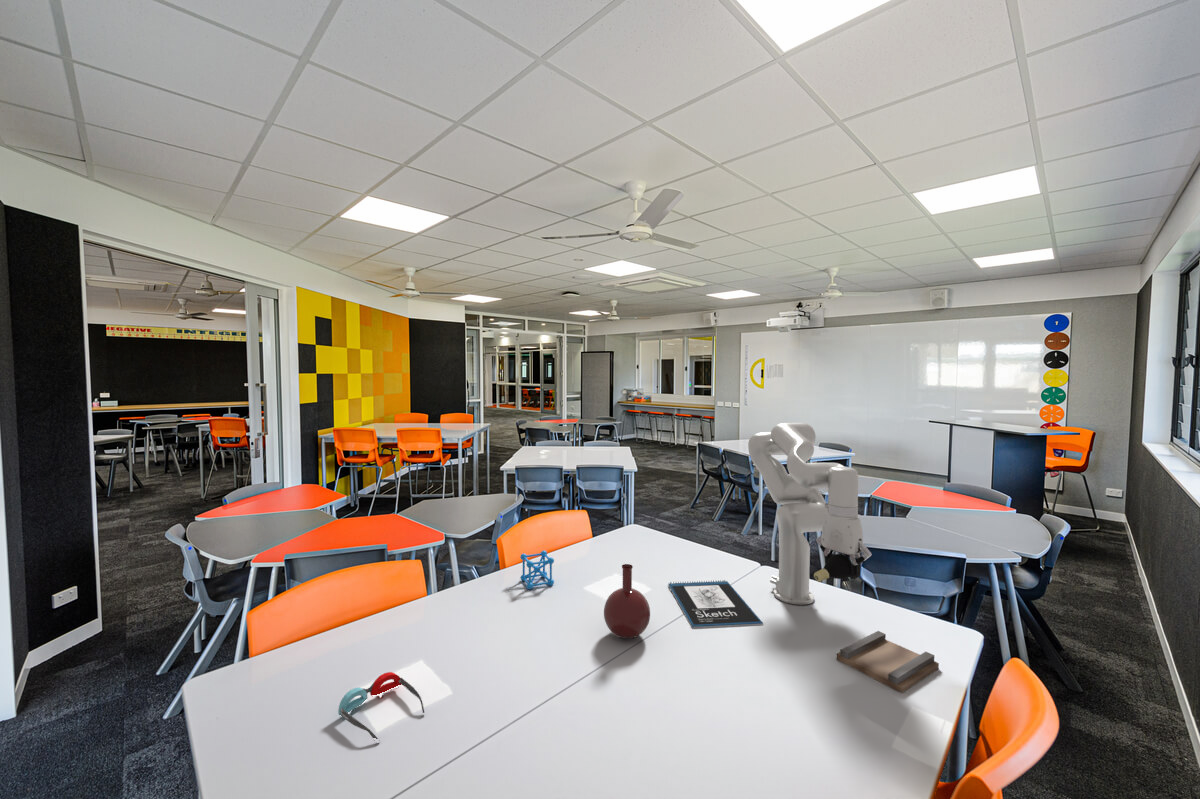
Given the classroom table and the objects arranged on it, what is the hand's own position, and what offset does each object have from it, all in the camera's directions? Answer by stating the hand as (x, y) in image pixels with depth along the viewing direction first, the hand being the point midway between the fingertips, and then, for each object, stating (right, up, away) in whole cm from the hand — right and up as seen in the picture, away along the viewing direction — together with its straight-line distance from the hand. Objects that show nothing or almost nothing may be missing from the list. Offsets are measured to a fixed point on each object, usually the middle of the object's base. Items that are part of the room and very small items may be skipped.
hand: (842, 573), depth 136 cm
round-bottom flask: (-61, -18, 0) cm, 64 cm away
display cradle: (+5, -18, -13) cm, 23 cm away
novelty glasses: (-115, -19, -32) cm, 122 cm away
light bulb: (-4, -1, -1) cm, 4 cm away
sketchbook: (-32, -18, +20) cm, 42 cm away
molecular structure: (-91, -17, +36) cm, 99 cm away
